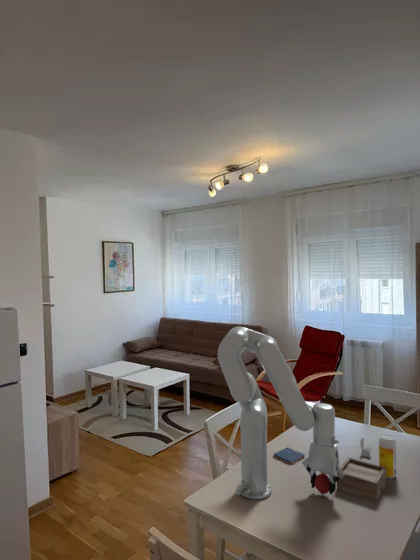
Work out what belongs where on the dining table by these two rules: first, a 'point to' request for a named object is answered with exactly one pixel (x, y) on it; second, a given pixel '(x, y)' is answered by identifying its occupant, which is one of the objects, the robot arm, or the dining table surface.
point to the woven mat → (289, 456)
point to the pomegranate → (322, 483)
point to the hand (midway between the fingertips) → (322, 489)
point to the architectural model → (365, 449)
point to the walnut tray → (362, 478)
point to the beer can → (388, 454)
